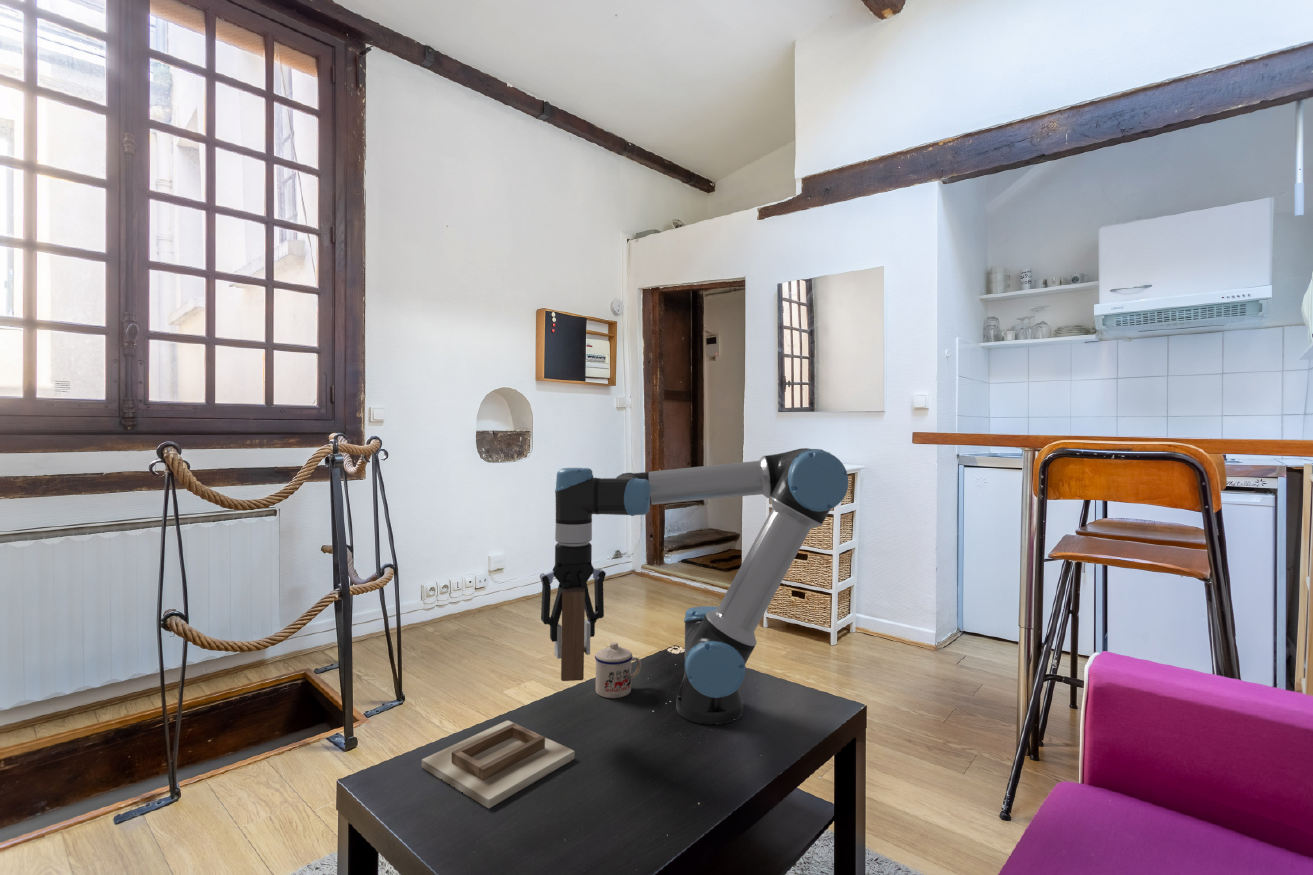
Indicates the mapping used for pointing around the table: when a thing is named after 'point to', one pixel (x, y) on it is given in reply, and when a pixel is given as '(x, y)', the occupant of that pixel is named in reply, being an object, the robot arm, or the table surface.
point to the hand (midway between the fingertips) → (572, 654)
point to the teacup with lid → (614, 671)
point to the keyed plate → (497, 762)
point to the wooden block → (573, 634)
